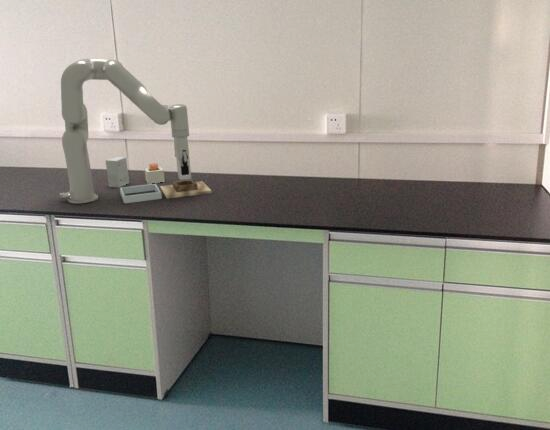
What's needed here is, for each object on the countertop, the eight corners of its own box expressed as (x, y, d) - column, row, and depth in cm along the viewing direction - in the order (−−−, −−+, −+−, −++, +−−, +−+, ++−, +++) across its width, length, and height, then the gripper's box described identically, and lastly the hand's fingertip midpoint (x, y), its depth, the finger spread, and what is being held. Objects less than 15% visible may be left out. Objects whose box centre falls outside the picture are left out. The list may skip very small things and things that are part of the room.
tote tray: (124, 203, 234) (123, 196, 233) (120, 194, 248) (119, 187, 247) (161, 198, 239) (161, 192, 238) (156, 189, 253) (155, 183, 252)
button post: (148, 184, 264) (146, 172, 262) (145, 180, 271) (144, 168, 269) (164, 182, 266) (163, 170, 264) (162, 178, 273) (160, 166, 271)
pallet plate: (166, 198, 239) (166, 190, 238) (160, 188, 255) (159, 181, 254) (211, 193, 245) (211, 185, 244) (202, 183, 261) (201, 176, 260)
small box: (118, 182, 268) (115, 156, 264) (129, 183, 266) (126, 157, 262) (108, 187, 261) (105, 160, 257) (119, 187, 259) (116, 160, 255)
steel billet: (180, 180, 245) (178, 158, 242) (178, 177, 250) (176, 155, 247) (191, 178, 247) (189, 156, 244) (189, 176, 251) (187, 154, 248)
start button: (150, 171, 264) (149, 165, 263) (149, 170, 268) (148, 164, 267) (158, 170, 266) (158, 164, 265) (157, 169, 269) (157, 163, 268)
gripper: (168, 131, 248) (172, 170, 254) (175, 137, 233) (179, 178, 239) (185, 129, 251) (188, 168, 256) (192, 135, 235) (196, 176, 241)
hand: (184, 172), depth 248 cm, fingers closed on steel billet, 5 cm apart
